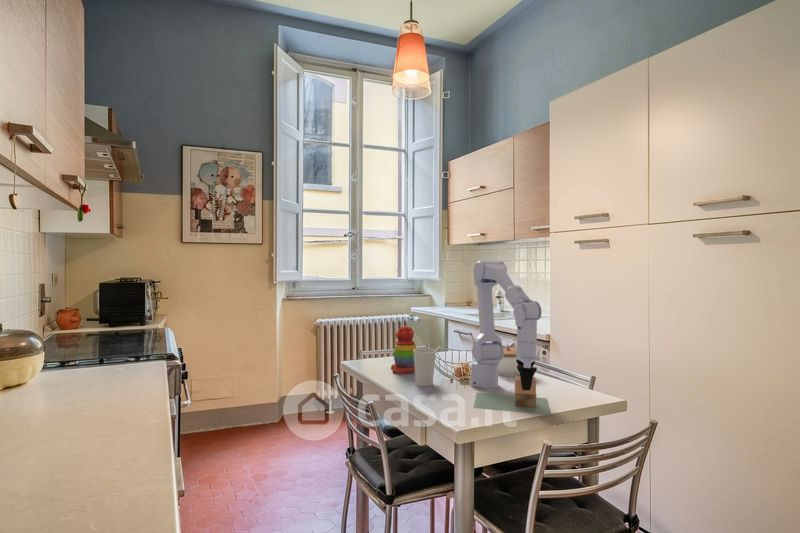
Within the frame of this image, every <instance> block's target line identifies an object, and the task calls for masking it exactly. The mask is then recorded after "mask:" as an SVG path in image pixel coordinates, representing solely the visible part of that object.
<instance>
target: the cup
mask: <svg viewBox="0 0 800 533" xmlns="http://www.w3.org/2000/svg"><path fill="white" fill-rule="evenodd" d="M413 351H414V366H415V372H414V380H415V382H414V384H415V386H418V387H423V386H427V387H433V385H434V374H435V365H436V364H435V363H436V356H437V354H436V353H437V351H436V349H433V348H427V347H426V348H425V347H424V348H423V347H421V348H418V347H417V349H414V350H413Z"/></svg>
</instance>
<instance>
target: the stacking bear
mask: <svg viewBox="0 0 800 533" xmlns="http://www.w3.org/2000/svg"><path fill="white" fill-rule="evenodd" d="M414 336H415V332H414V329H413V327H411V326H407V325H403V326H401V327H399V329H397V331H396V332H395V338H396V339H397V341H396V343H395V346H394V351H393V360H394V363H393V364H391V367H390V369H391V370H392V373H393V374H396V375H406V374H412V373H414V374H415V366H414V351H413V350H414V349H418V347H417V344H416V343H415V341H414V340H413V339H414Z"/></svg>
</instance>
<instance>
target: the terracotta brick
mask: <svg viewBox="0 0 800 533" xmlns="http://www.w3.org/2000/svg"><path fill="white" fill-rule="evenodd" d="M515 393H520V394H532V395H536V396H537V379H536V377H534V376H533V379H532V384H531V389H530V391H529V390H523V389H522V384H521V377H520V375H516V376H514V394H515Z"/></svg>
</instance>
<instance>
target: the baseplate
mask: <svg viewBox="0 0 800 533" xmlns="http://www.w3.org/2000/svg"><path fill="white" fill-rule="evenodd" d="M473 408H474V409H482V410H493V411H502V412H503V411H504V412H515V413H525V414H526V413H527V414H535V415H545V416H546V415H548V416H551V415H553V414H552V411H551V408H550V404H549V401H548V398H546V397H537V396H536V408H527V407H516V406H515V395H512V394H501V393H500V394H498V393H487V392H476V395H475V399H474V404H473Z"/></svg>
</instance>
